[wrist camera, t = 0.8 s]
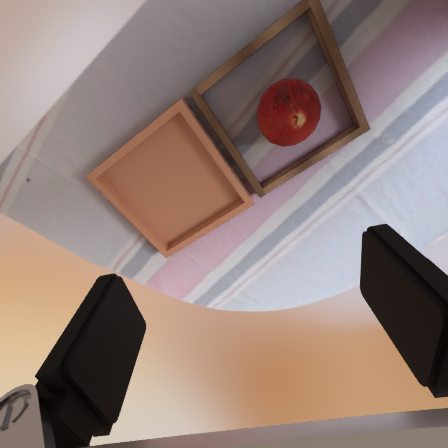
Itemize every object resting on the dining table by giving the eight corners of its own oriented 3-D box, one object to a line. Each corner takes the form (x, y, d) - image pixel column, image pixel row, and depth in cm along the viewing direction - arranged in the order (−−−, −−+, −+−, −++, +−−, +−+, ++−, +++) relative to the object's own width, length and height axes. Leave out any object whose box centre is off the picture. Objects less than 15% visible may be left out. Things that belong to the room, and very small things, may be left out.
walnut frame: (309, -5, 23) (315, -11, 22) (363, 127, 28) (370, 129, 27) (190, 92, 27) (188, 92, 25) (258, 193, 32) (259, 197, 31)
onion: (244, 96, 27) (252, 101, 20) (296, 67, 26) (325, 61, 19) (265, 147, 29) (279, 167, 22) (313, 123, 28) (344, 136, 21)
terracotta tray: (183, 97, 27) (180, 98, 25) (252, 196, 32) (254, 204, 30) (93, 170, 30) (85, 176, 28) (169, 249, 36) (166, 258, 34)
